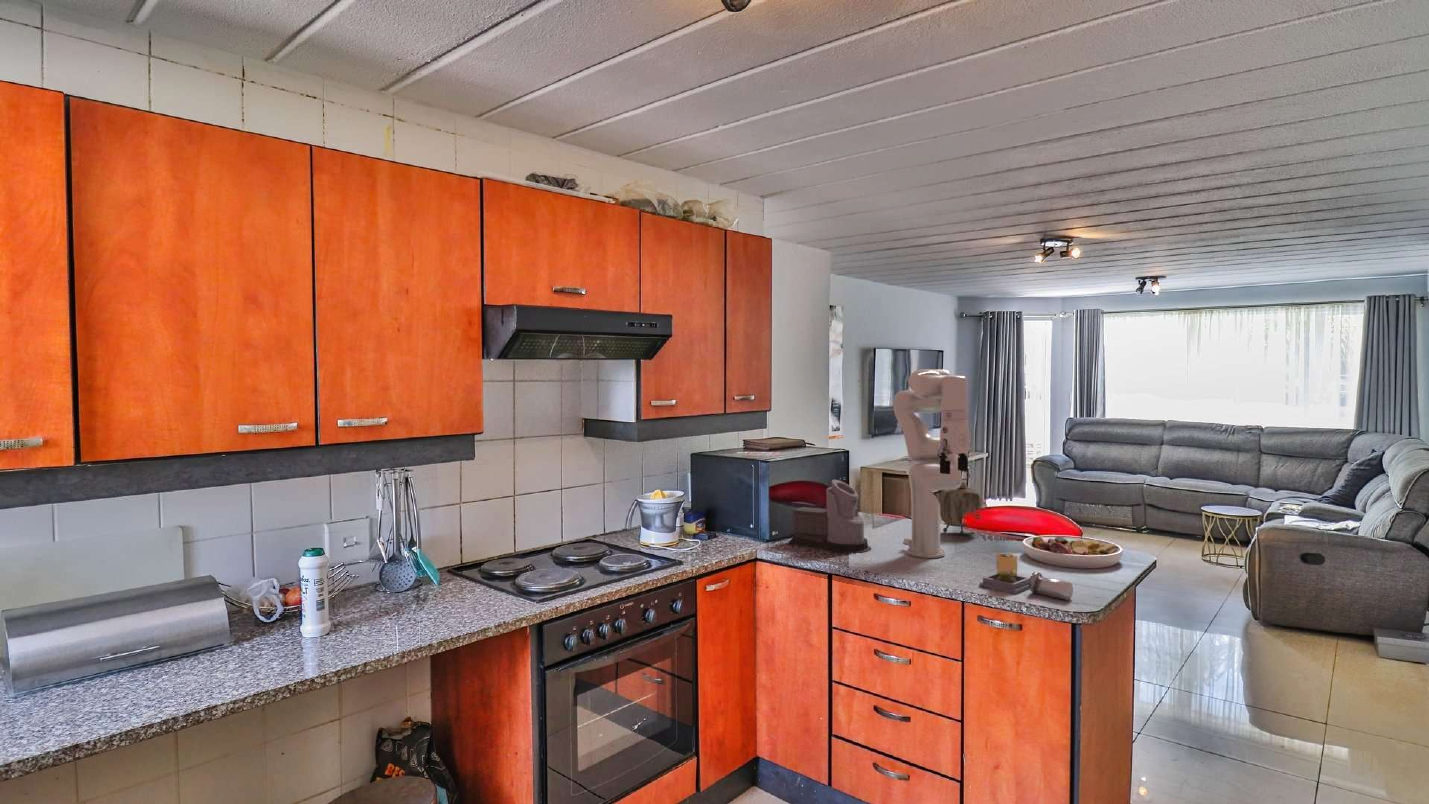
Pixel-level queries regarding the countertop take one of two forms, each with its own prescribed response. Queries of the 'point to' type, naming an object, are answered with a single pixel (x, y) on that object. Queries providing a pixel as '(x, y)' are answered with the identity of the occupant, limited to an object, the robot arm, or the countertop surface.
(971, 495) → the tabletop clock
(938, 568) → the countertop surface
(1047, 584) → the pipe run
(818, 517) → the juicer
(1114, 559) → the bowl
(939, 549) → the robot arm
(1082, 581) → the countertop surface
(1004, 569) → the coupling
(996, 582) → the grey square tray
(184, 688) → the countertop surface
